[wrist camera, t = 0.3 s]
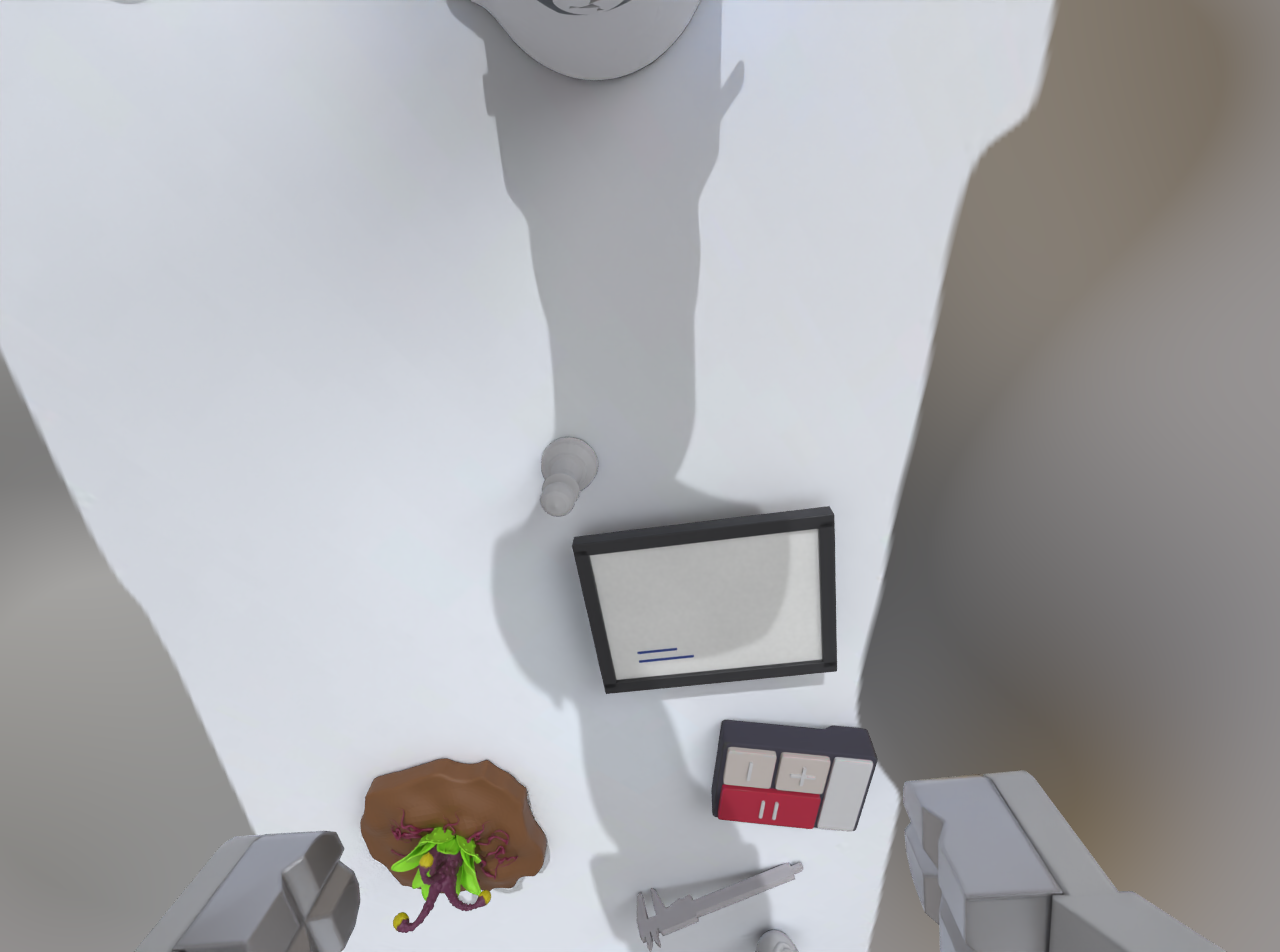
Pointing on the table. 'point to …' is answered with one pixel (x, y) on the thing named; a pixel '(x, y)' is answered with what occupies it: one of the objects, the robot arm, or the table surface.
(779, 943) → the frog figurine
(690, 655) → the whiteboard
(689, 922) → the caliper
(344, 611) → the table surface
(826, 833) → the table surface
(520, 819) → the plant
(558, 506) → the chess piece
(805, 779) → the calculator
